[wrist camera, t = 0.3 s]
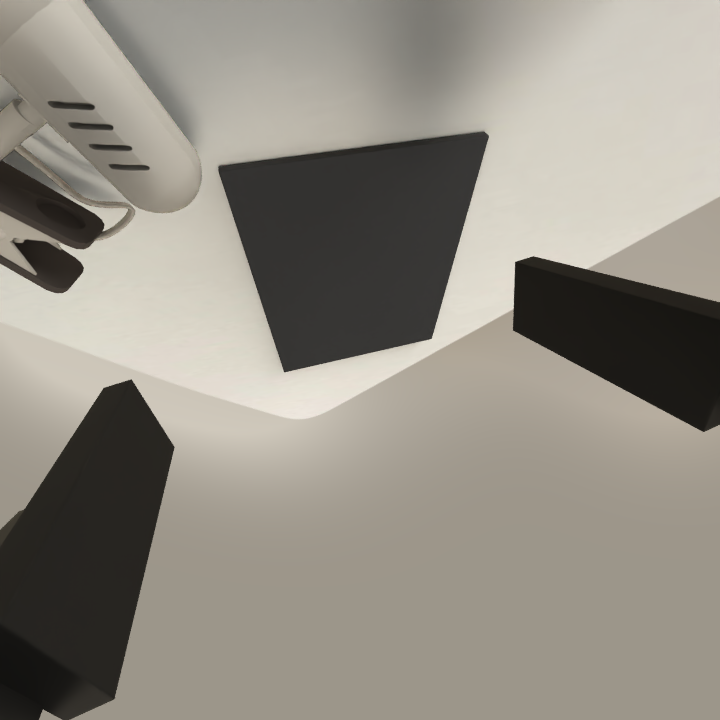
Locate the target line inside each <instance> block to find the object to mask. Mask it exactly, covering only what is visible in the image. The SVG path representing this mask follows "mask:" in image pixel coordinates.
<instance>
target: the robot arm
mask: <svg viewBox="0 0 720 720" xmlns="http://www.w3.org/2000/svg"><path fill="white" fill-rule="evenodd" d="M513 331H515V332H517V333H519V334H521V335H523V336H525V337H526V338H529V339H530V340H532V341H534V342H536V343H538V344H540V345H541V346H543V347H545V348H547V349H549V350H551V351H553V352H555V353H557V354H558V355H560V356H562V357H564V358H566V359H568V360H570V361H571V362H573V363H575V364H577V365H579V366H581V367H583V368H585V369H586V370H589V371H590V372H592V373H594V374H596V375H598V376H600V377H602V378H603V379H605V380H607V381H609V382H611V383H613V384H615V385H616V386H618V387H620V388H622V389H624V390H626V391H628V392H630V393H632V394H633V395H635V396H637V397H639V398H641V399H643V400H645V401H646V402H648V403H650V404H652V405H654V406H656V407H658V408H660V409H662V410H663V411H665V412H667V413H669V414H671V415H673V416H675V417H676V418H679V419H680V420H682V421H684V422H686V423H688V424H690V425H691V426H693V427H695V428H697V429H699V430H701V431H703V432H705V431H707V430H709V429H711V428H713V427H716V426H718V425H720V302H716V301H712V300H708V299H704V298H700V297H696V296H692V295H687V294H684V293H680V292H675V291H671V290H667V289H663V288H659V287H655V286H651V285H647V284H643V283H639V282H635V281H631V280H627V279H623V278H619V277H615V276H610V275H607V274H603V273H598V272H595V271H590V270H586V269H582V268H578V267H574V266H570V265H566V264H562V263H558V262H554V261H550V260H546V259H542V258H538V257H534V256H533V257H530V258H527V259H523V260H520V261H517V262H515V288H514V317H513ZM173 451H174V446H173V444H172V443H171V441H170V439H169V438H168V436H167V435H166V433H165V432H164V430H163V428H162V427H161V425H160V424H159V422H158V421H157V419H156V417H155V416H154V414H153V413H152V411H151V409H150V408H149V406H148V405H147V403H146V402H145V400H144V398H143V397H142V395H141V394H140V392H139V391H138V389H137V387H136V386H135V384H134V383H133V381H132V380H128V381H125V382H122V383H119V384H115V385H112V386H109V387H106V388H103V390H102V392H101V393H100V395H99V396H98V398H97V399H96V401H95V402H94V404H93V405H92V407H91V408H90V410H89V412H88V413H87V415H86V416H85V418H84V419H83V421H82V422H81V424H80V425H79V427H78V428H77V430H76V431H75V433H74V434H73V436H72V438H71V439H70V441H69V442H68V444H67V445H66V447H65V448H64V450H63V451H62V453H61V454H60V456H59V457H58V459H57V460H56V462H55V464H54V465H53V467H52V468H51V470H50V471H49V473H48V474H47V476H46V477H45V479H44V481H43V482H42V483H41V485H40V487H39V488H38V490H37V491H36V493H35V494H34V496H33V497H32V499H31V500H30V502H29V503H28V505H27V506H26V508H25V509H24V510H22V511H19V512H18V513H17V514H16V515H15V516H14V517H13V518H12V519H11V520H10V521H9V522H8V523H7V524H6V525H5V526H4V527H3V528H2V529H1V530H0V720H39V718H40V715H41V712H42V710H43V709H44V710H45V711H47V712H49V713H51V714H53V715H55V716H57V717H59V718H61V719H62V720H69V719H72V718H74V717H76V716H79V715H81V714H83V713H85V712H87V711H90V710H92V709H94V708H96V707H98V706H101V705H103V704H105V703H107V702H109V701H112V700H113V699H114V698H115V694H116V690H117V686H118V681H119V677H120V673H121V669H122V665H123V661H124V657H125V652H126V648H127V644H128V640H129V635H130V631H131V627H132V623H133V618H134V615H135V610H136V606H137V602H138V598H139V594H140V590H141V585H142V581H143V577H144V572H145V568H146V564H147V560H148V556H149V552H150V547H151V543H152V539H153V535H154V531H155V527H156V522H157V518H158V514H159V509H160V505H161V501H162V497H163V493H164V488H165V485H166V481H167V476H168V472H169V467H170V464H171V460H172V455H173Z"/></svg>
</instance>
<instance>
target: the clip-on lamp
mask: <svg viewBox="0 0 720 720" xmlns="http://www.w3.org/2000/svg"><path fill="white" fill-rule="evenodd" d="M0 74H1V75H2V76H3V77H4V78H5V79H6V80H7V81H8V82H9V83H10V84H11V85H12V86H13V87H14V88H15V89H16V90H17V91H18V92H19V94H18V95H19V96H20V97H21V98H22V99H23V101H22V100H18V99H14V100H13V101H12V102H11V103H9V104H8V105H7V106H6V107H5V108H4V109H3V110H2V111H1V112H0V264H2V265H4V266H6V267H7V268H9V269H11V270H13V271H14V272H16V273H18V274H20V275H21V276H23V277H25V278H27V279H28V280H30V281H32V282H34V283H35V284H37V285H39V286H41V287H42V288H44V289H46V290H48V291H51V292H54V293H64V292H66V291H67V290H68V289H69V288H70V287H71V286H72V285H73V283H74V282H75V281H76V280H77V279H78V277H79V276H80V275H81V274H82V273H83V269H84V267H83V265H82V264H81V262H80V261H78V260H77V259H76V258H75V257H73V256H72V255H70V254H69V253H67V252H66V251H64V250H63V249H62V248H61V247H60V246H59V244H58V243H63V244H65V245H67V246H70V247H73V248H75V249H86V248H88V247H89V246H90V245H91V244H92V243H93V242H94V241H95V240H103V239H106V238H108V237H111V236H113V235H114V234H116V233H118V232H119V231H120V230H122V229H123V228H124V227H125V226H126V225H127V224H128V223H129V222H130V221H131V220H132V218H133V217H134V215H135V210H134V208H133V207H132V206H131V205H130V204H127V203H125V202H104V201H95V200H91V199H88V198H85V197H83V196H82V195H80V194H79V193H77V192H76V191H75V190H74V189H72V188H71V187H70V186H69V185H68V184H66V183H65V182H64V181H63V180H62V179H61V178H60V177H58V176H57V175H56V174H55V173H54V172H53V171H51V170H50V169H49V168H48V167H47V166H46V165H44V164H43V163H42V162H41V161H39V160H38V159H37V158H36V157H35V156H33V155H32V154H31V153H30V152H28V151H27V150H26V149H25V148H23V147H22V146H21V145H20V144H21V143H22V142H23V141H24V140H26V139H27V138H28V137H29V136H30V135H33V133H35V132H36V131H38V130H39V129H40V128H41V127H42V126H44V125H45V124H46V123H48V124H49V125H50V126H51V127H52V128H53V129H54V130H55V131H56V132H57V133H58V134H59V135H60V136H61V137H62V138H63V139H64V140H65V141H66V142H67V143H68V142H70V143H71V144H72V145H73V146H74V147H75V148H76V149H77V150H78V151H79V152H80V153H81V154H82V155H83V156H84V157H85V158H86V159H87V160H88V161H89V162H90V163H91V164H92V165H93V166H94V167H95V168H96V169H97V170H98V171H99V172H100V173H101V174H102V175H103V176H104V177H105V178H106V179H107V180H108V181H109V182H110V183H111V184H112V185H113V186H114V187H115V188H116V189H117V190H118V191H119V192H120V193H121V194H122V195H124V196H125V197H126V198H127V199H128V200H129V201H130V202H131V203H132V204H133V205H135V206H136V207H138V208H140V209H143V210H145V211H149V212H154V213H170V212H174V211H178V210H180V209H182V208H184V207H186V206H187V205H188V204H190V203H191V202H192V200H193V199H194V198H195V197H196V195H197V193H198V191H199V188H200V185H201V179H202V168H201V163H200V159H199V156H198V153H197V151H196V150H195V149H194V147H193V146H192V145H191V143H190V142H189V141H188V139H187V138H186V137H185V135H184V134H183V133H182V131H181V130H180V129H179V127H178V126H177V125H176V123H175V122H174V121H173V119H172V118H171V117H170V115H169V114H168V113H167V111H166V110H165V109H164V107H163V106H162V105H161V103H160V102H159V101H158V99H157V98H156V97H155V95H154V94H153V93H152V91H151V90H150V89H149V87H148V86H147V85H146V83H145V82H144V81H143V79H142V78H141V77H140V75H139V74H138V73H137V71H136V70H135V69H134V67H133V66H132V65H131V63H130V62H129V61H128V59H127V58H126V57H125V55H124V54H123V53H122V51H121V50H120V49H119V47H118V46H117V45H116V43H115V42H114V41H113V40H112V38H111V37H110V36H109V34H108V33H107V32H106V30H105V29H104V28H103V26H102V25H101V24H100V22H99V21H98V20H97V18H96V17H95V16H94V14H93V13H92V12H91V10H90V9H89V8H88V6H87V5H86V4H85V2H84V1H83V0H0ZM13 150H15V151H16V152H18V153H19V154H20V155H22V156H23V157H24V158H25V159H27V160H28V161H29V162H30V163H32V164H33V165H34V166H36V167H37V168H38V169H39V170H40V171H42V172H43V173H44V174H45V175H46V176H48V177H49V178H50V179H51V180H52V181H54V182H55V183H56V184H57V185H58V186H60V187H61V188H62V189H63V190H64V191H66V192H67V193H68V194H69V195H71V196H72V197H73V198H75V199H77V200H78V201H80V202H82V203H84V204H87V205H89V206H95V207H104V208H127V209H128V212H127V213H126V215H125V216H124V217H123V218H122V220H121V221H119V222H118V223H117V224H116V225H115V226H113V227H111V228H110V229H108V230H106V231H103V229H104V223H103V221H102V220H101V219H100V218H99V217H98V216H97V215H95V214H94V213H92V212H90V211H89V210H87V209H85V208H84V207H82V206H80V205H78V204H77V203H75V202H73V201H71V200H70V199H68V198H66V197H64V196H63V195H61V194H59V193H57V192H56V191H54V190H52V189H50V188H49V187H47V186H45V185H44V184H42V183H40V182H38V181H37V180H35V179H33V178H31V177H30V176H28V175H26V174H24V173H23V172H21V171H19V170H17V169H16V168H14V167H12V166H11V165H9V164H7V163H5V162H4V161H2V159H3V158H5V157H6V156H7V155H8V154H9V153H10V152H12V151H13ZM102 231H103V232H102Z"/></svg>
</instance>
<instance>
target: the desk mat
mask: <svg viewBox="0 0 720 720" xmlns="http://www.w3.org/2000/svg"><path fill="white" fill-rule="evenodd" d="M488 138H489V136H488V135H487V134H486V133H485V132H481V133H474V134H466V135H458V136H451V137H443V138H435V139H428V140H420V141H413V142H405V143H397V144H390V145H382V146H374V147H367V148H359V149H351V150H344V151H336V152H328V153H321V154H313V155H305V156H298V157H290V158H282V159H275V160H267V161H260V162H252V163H244V164H237V165H229V166H221V167H219V174H220V177H221V180H222V183H223V186H224V189H225V192H226V195H227V199H228V202H229V205H230V208H231V211H232V214H233V217H234V220H235V223H236V226H237V229H238V232H239V235H240V238H241V241H242V244H243V247H244V250H245V254H246V257H247V260H248V263H249V266H250V269H251V272H252V275H253V278H254V281H255V284H256V287H257V290H258V293H259V296H260V299H261V302H262V305H263V308H264V312H265V315H266V318H267V321H268V324H269V327H270V330H271V333H272V336H273V339H274V342H275V345H276V348H277V351H278V354H279V357H280V360H281V363H282V367H283V370H284V372H288V371H292V370H297V369H301V368H306V367H310V366H314V365H319V364H323V363H328V362H332V361H336V360H341V359H345V358H349V357H354V356H358V355H363V354H367V353H371V352H376V351H380V350H385V349H389V348H393V347H398V346H402V345H407V344H411V343H415V342H420V341H424V340H429V339H432V336H433V332H434V329H435V325H436V322H437V318H438V315H439V311H440V307H441V304H442V300H443V297H444V293H445V290H446V286H447V283H448V279H449V276H450V272H451V269H452V265H453V261H454V258H455V254H456V251H457V247H458V244H459V240H460V237H461V233H462V230H463V226H464V223H465V219H466V215H467V212H468V208H469V205H470V201H471V198H472V194H473V191H474V187H475V184H476V180H477V177H478V173H479V169H480V166H481V162H482V159H483V155H484V152H485V148H486V145H487V141H488Z"/></svg>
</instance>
